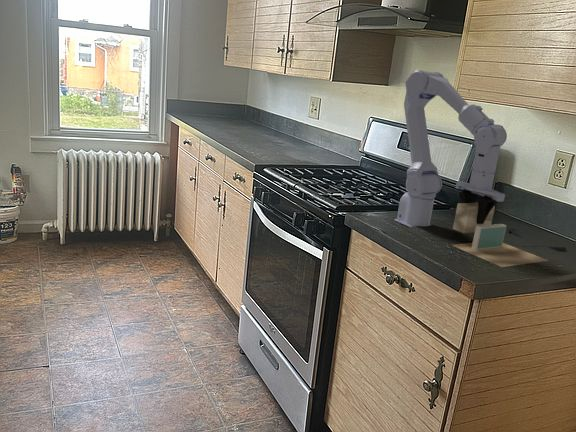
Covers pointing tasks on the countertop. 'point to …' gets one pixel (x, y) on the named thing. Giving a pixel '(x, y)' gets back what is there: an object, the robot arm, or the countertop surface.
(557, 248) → the bracket
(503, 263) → the cork mat
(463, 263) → the countertop surface
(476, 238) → the tile
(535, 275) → the countertop surface
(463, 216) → the tan mottled block
